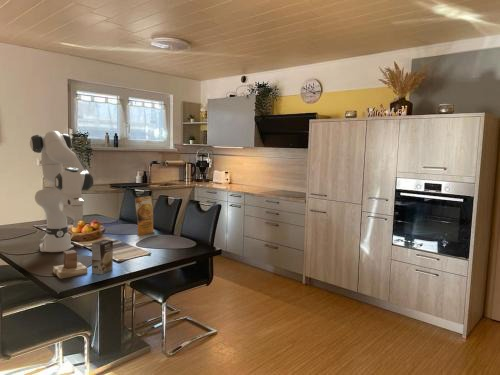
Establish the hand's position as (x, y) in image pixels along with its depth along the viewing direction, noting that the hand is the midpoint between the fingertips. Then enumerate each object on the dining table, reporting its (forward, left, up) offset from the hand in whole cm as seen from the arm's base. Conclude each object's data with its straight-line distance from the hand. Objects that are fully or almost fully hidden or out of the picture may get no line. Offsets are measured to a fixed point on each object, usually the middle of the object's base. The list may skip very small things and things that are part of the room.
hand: (72, 225), depth 193 cm
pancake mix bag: (-54, +68, -25) cm, 90 cm away
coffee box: (+8, +12, -25) cm, 29 cm away
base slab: (+1, -2, -25) cm, 25 cm away
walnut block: (+1, -1, -22) cm, 22 cm away
